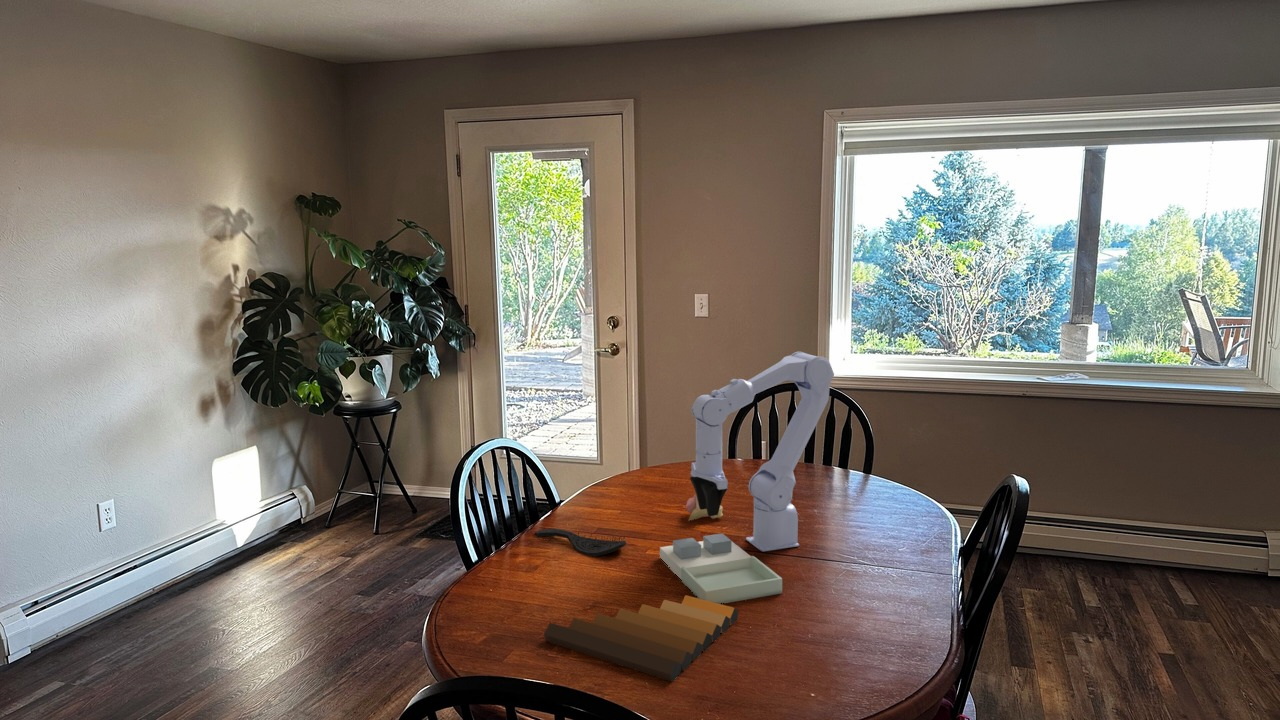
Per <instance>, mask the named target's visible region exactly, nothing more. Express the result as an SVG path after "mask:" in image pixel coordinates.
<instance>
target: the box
mask: <svg viewBox="0 0 1280 720" xmlns="http://www.w3.org/2000/svg"><path fill="white" fill-rule="evenodd" d="M750 556H751V568H745V569H739V570H733V571H727V572H720V573H714V574H708V575H702V576H696V577H694V576H693V575H692V574H691V573H690V572H689V571H688V570H687V569H686V568H685V567H681V580H682V581H681V580H680V581H681V583H683V584H684V586H685V587H686V586H687V587H688V588H689V589H690V590H691V591H690V590H689V589H688V588H687V587H686V588H687V589H688V590H689V591H690V592H691V593H692V592H693V593H692V594H693V595H694V596H695V597H696V596H697V597H696V598H698V599H702V600H706V601H710V602H714V603H718V604H721V603H722V605H724V604H728V603H734V602H740V601H744V600H752V599H757V598H763V597H768V596H773V595H780V594H783V578H782V577H781V576H780V575H778V574H777V573H776V572H775V571H773V569H771V568H770V567H768V565H766V564H765V563H763V562H762V561H761V560H759V559H758V558H757V557H756V556H754V555H750ZM723 603H724V604H723Z"/></svg>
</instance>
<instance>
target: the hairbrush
mask: <svg viewBox="0 0 1280 720" xmlns="http://www.w3.org/2000/svg"><path fill="white" fill-rule="evenodd" d="M534 534H535V535H534V536H536V537H537V538H538V537H558V538H559V537H560V538H565V539H567V540H568V541H569V543H570V544H571V546H572V547H573V549H574V551H577V552H579V553H581V554H582V555H586V556H589V557H601V556H604V555H607V554H610V553H612V552H615V551H617V550H619V549H621V548H623V547H625V546H626V545H627V541H626V540H625V538H626V537H625V536H623V535H622V536H620V537H617V538H616V536H615V537H614V536H611V535H610V536H609V535H606V537H605V535H601V536H600V535H599V534H598V535H597V537H598V538H599V539H597V537H594V538H593V535H590V537H586V536H587V535H586V534H584V535H582V534H583V533H582V532H581V535H580V532H578V533H574V532H572V531H567V530H564V529H560V528H559V529H558V528H545V529H540V530H536V531H534ZM587 534H588V535H589V533H587ZM600 537H601V538H600ZM603 537H604V538H603ZM609 537H610V538H609ZM608 538H609V540H608Z"/></svg>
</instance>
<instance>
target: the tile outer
mask: <svg viewBox="0 0 1280 720" xmlns="http://www.w3.org/2000/svg"><path fill="white" fill-rule="evenodd" d="M698 542H699V541H697V540H696V539H695V538H693V537H688V538H681V539H674V540H672V546H673V552H674V553H675V554H676V555H677V556H678V557H679V558H680V559H681V560H682V559H689V558H695V557H701V545H700V544H699V543H698Z"/></svg>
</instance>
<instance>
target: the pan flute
mask: <svg viewBox="0 0 1280 720" xmlns="http://www.w3.org/2000/svg"><path fill="white" fill-rule="evenodd" d="M738 616H739V610H738V609H737V608H735V607H732V606H729V605H725V604H718V603H714V602H710V601H706V600H702V599H698V598H697V597H696V596H695V597H694V596H691V595H684V597H683V600H682V602H681V603H680V602H675V601H672V600H667V599H663V601H662V603H661V606H660V607H659V608H658V607H656V606H655V607H654V606H651V605H648V604H644V603H642V604H641V606H640V608H639V610H638V613H637V612H635V611H630V610H628V609H624V608H619V610H618V612H617V614H616V616H615V617H612V616H609V615H605V614H602V613H598V612H597V613H596V615H595V617H594V619H593V620H592V622H589V621H586V620H583V619H579V618H575V617H574V618H573V619H572V620H571V622H570V624H569V626H568V627H565V626H561V625H559V624H557V623H552V622H549V623H548V625H547V627H546V629H545V631H544V633H543V636H544V639H545V642H547V643H549V644H550V643H551V644H553V645H557V646H559V647H563V648H566V649H568V650H569V649H570V650H571V651H574V650H575V651H576V652H578V653H581V654H584V655H587V654H588V656H590V655H591V656H590V657H593V656H594V657H593V658H596V657H597V659H599V658H600V659H599V660H602V659H604V660H603V661H605V660H607V661H606V662H608V661H610V662H609V663H611V662H613V663H612V664H614V663H616V664H615V665H618V664H620V665H619V666H621V665H623V666H622V667H624V666H626V667H625V668H627V667H629V668H628V669H630V668H632V669H631V670H633V669H634V671H636V670H638V671H637V672H639V671H642V672H644V673H643V674H645V673H648V674H650V675H649V676H651V675H654V676H656V677H655V678H658V677H660V678H659V679H661V678H662V680H664V679H665V680H664V681H667V680H668V682H670V681H671V682H670V683H673V682H674V681H675V680H676V679H677V678H678V677H679V676H681V672H682V671H683V672H684V670H685V669H686V668H687V667H688V666H689V665H690V664H691V665H692V662H693V661H694V660H695V659H696V658H697V657H698V656H699V655H700V654H701V655H702V651H704V652H706V650H707V648H708V647H709V646H710V645H712V642H714V641H715V640H716V639H717V638H718V637H719V636H720V637H721V635H723V634H724V633H725V632H727V630H728V629H730V626H733V625H734V623H736V622H737V621H738V618H739V617H738ZM723 632H724V633H723ZM720 633H722V634H720ZM720 637H719V638H720ZM719 638H718V639H719ZM718 639H717V640H718ZM717 640H716V641H717ZM716 641H715V642H716ZM715 642H714V643H715ZM710 647H711V646H710ZM710 647H709V648H710ZM709 648H708V649H709ZM701 655H700V656H701ZM700 656H699V657H700ZM699 657H698V658H699ZM698 658H697V659H698ZM697 659H696V660H697ZM691 660H692V661H691ZM696 660H695V661H696ZM695 661H694V662H695ZM691 665H690V666H691ZM690 666H689V667H690ZM689 667H688V668H689ZM635 669H636V670H635ZM686 670H687V669H686ZM642 672H641V673H642ZM648 674H647V675H648ZM678 675H679V676H678ZM654 676H653V677H654ZM676 677H677V678H676ZM675 678H676V679H675ZM673 680H674V681H673Z"/></svg>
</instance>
